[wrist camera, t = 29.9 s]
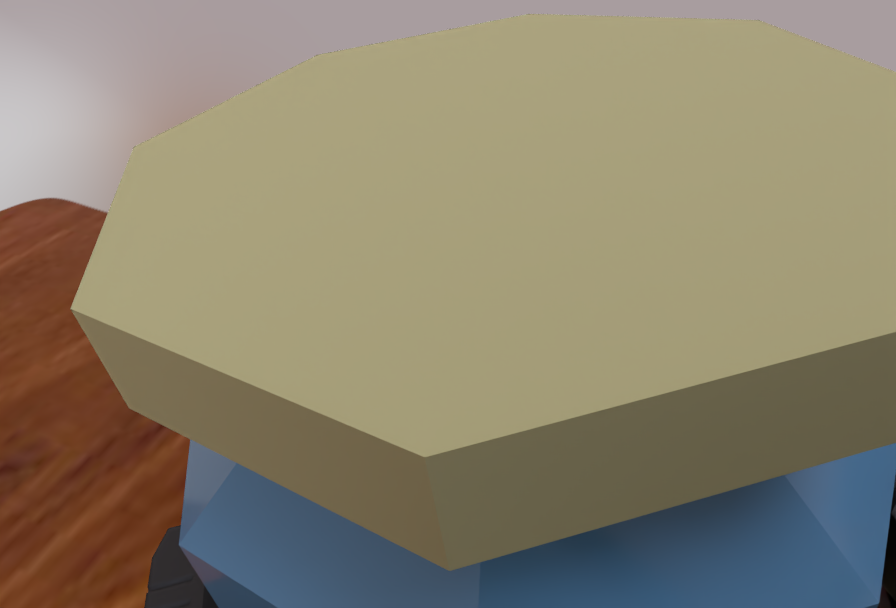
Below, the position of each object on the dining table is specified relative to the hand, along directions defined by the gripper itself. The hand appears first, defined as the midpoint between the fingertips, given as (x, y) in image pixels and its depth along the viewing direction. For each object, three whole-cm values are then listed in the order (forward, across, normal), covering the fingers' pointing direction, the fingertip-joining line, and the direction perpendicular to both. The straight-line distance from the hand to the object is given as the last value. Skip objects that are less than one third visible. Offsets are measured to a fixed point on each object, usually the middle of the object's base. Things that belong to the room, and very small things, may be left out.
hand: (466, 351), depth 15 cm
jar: (-5, 0, -8) cm, 9 cm away
